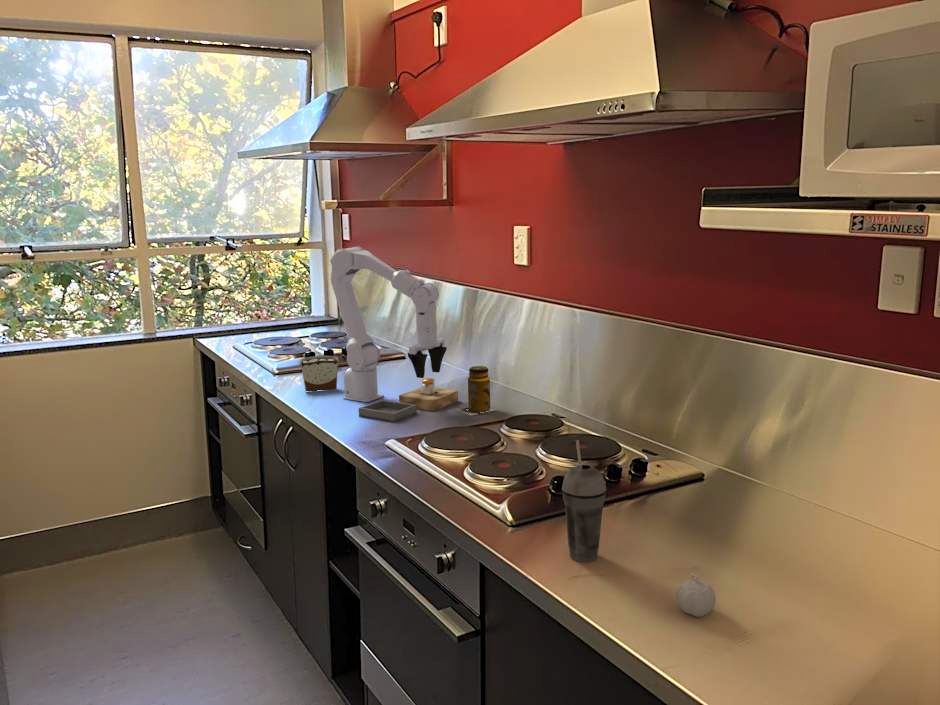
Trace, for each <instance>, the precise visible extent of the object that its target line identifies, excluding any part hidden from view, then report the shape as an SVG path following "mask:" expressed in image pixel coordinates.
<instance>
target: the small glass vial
mask: <svg viewBox="0 0 940 705" xmlns="http://www.w3.org/2000/svg"><path fill="white" fill-rule="evenodd" d="M421 379H422V380H421V381H422V382H421V384H422V386H421V387H423V395H428V396H431V395H434V394H435V388H436V387H435V379H434V378H432V377H430V378H429V377H426V378H425V377H424V378H421Z"/></svg>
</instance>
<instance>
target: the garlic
mask: <svg viewBox="0 0 940 705" xmlns="http://www.w3.org/2000/svg"><path fill="white" fill-rule="evenodd" d="M689 576H690V577H691V578H693V579H688V580H685V581H684V582H682V583H681V584H679V586H678V588H677V589H676V591H675V596H676V597H675V598H676V601H677V602H678V607H679V609H681V611H683V612H684V613H686V614H688V615H691V616H694V617H697V618H702V617H704V616H705V615H707V614H708V613H709V612H710V611H712V610H713V609H714V608H715V606H716V602H717V600H716V598H717V596H716V593H715V590H714V589H713V588H712V585H710V583H708V582H707V581H705V580H703V579H699V576H698V575H697V574H695V573H693V572H692V573H690V575H689Z"/></svg>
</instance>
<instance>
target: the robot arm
mask: <svg viewBox="0 0 940 705" xmlns="http://www.w3.org/2000/svg"><path fill="white" fill-rule="evenodd" d="M330 265H331V272H330V273H331V274H330V283H331V287H332V289H333V293H334V295H335V299H336V302H337V306H338V308H339V312H340V315H341V318H342V322H343V324H344V329H345V331H346V335H347V338H348V340H347V343H346V346H345V350H346V353H347V355H346V362H347V364H348V366H349V367H348V368H347V369H346V370H345V372H344V376H343V385H344V388H343V390H344V396H343V397H342V398H343V399H344V400H345V399H346V400H351V401H357V402H363V403H369V402H372V401H375V400H377V399H381V398H383V397H385V394H381V393H379V391H378V390H379V389H378V371H377V370H378V369H377V367H378V364H377V363H378V362H379V361H380V358H381V352H380V349H379V347H378V346H377V345H376V343H375V341H374V339H373V337H372V336H371V335H369V334H368V333H367V329H366V326H365V323H364V320H363V316H362V313H361V310H360V307H359V303H358V301H357V297H356V294H355V291H354V287H353V284H352V281H353V279H354V278H355V276H356V274H357V273H358V272H359V271H360V270H368V271H370V272H372V273H374V274H376V275H378V276H380V277H382V278H384V279H385V280H388V282H390V284H391V287H392V288H393V289H394V290H396V291H397V292H399V293H401V294H403V295H405V296H406V297H408V298H409V299H411V301H412V303H413V305H414V308H415V328H416V343H414V344H412V345H411V346H409V347H408V352H407V358H409V360H410V362H411V364H412V367H413V370H414V372H415V375H416V378H419V379H425V374H426V372H425V371H426V369H425V368H426V361H427V358H428V356H429V359H430V366H431V372H432V373H440V371H441V367H442V362H443V359H444V356H445V354H446V352H447V348H448V347H447V346H445V344H446V343H445V340H446V339H445V338H441V337H440V338H438V328H437V326H438V324H437V303H436V302H437V301H438V299H439V295H440V293H439V292H440V291H439V289H438V287H437V286H436V285H434V284H433V283H432V282H426V283H425V280H424V279H419V278H417V277H416V276H414V275H412V274H411V271H410V270H408V269H405V270H404V269H401V270H396V269H394V268H393V267H392V266H390V265H388V264H387V263H386V262H384V261H383V260H381V259H379V258H378V257H376V256H375V255H374V254H372V253H371V252H370V251H369V250H366V249H364V248H362V247H360V246H353V247H349V248H339V249H337V250H336V251H335V252H334V253H333V255H332V256H331V259H330ZM425 351H427V352H428V354H429V355H428V354H427V353H426V354H425V353H423V352H425Z"/></svg>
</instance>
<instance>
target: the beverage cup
mask: <svg viewBox="0 0 940 705" xmlns="http://www.w3.org/2000/svg"><path fill="white" fill-rule="evenodd" d="M575 443H576V444H575V445H576V452H577V453H576V454H577V462H578V465H575V466H574V467H572V468H571V469H569V470H568V471H567V472H566V474H565V476H564V478H563V482H562V486H561V492H562V498H563V502H564V510H565V520H566V532H567V544H568V550H569V557H570V559H571V560H573V561H576V562H577V563H591V562H594V561H596V560H598V553H599V548H600V541H601V540H600V539H601V528H602V519H603V508H604V504H605V500H606V494H607V490H608V489H607V487H606V481H605V478H604V476H603V475H602V473H601V472H600V471H599V470H598V469H597V468H596V467H594V466H592V465H589V464H582V456H581V448H580V441H579V439H576V440H575Z"/></svg>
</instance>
